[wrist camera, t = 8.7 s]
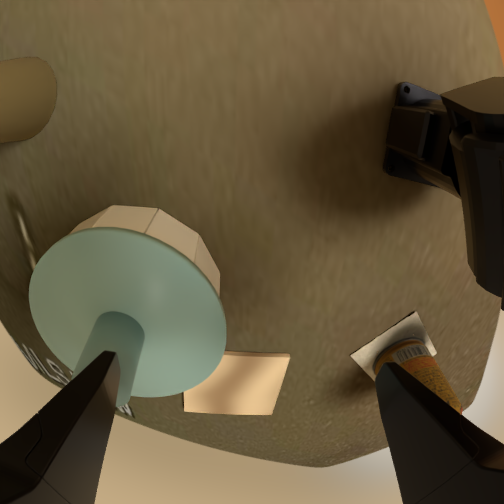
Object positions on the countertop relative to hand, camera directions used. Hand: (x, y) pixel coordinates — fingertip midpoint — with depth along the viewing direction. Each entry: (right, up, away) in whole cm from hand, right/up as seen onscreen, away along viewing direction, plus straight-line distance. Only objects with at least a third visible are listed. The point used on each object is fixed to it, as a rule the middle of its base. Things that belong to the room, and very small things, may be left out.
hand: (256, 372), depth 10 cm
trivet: (-2, -9, +18) cm, 20 cm away
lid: (-8, -1, +9) cm, 12 cm away
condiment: (+14, -6, +19) cm, 24 cm away
